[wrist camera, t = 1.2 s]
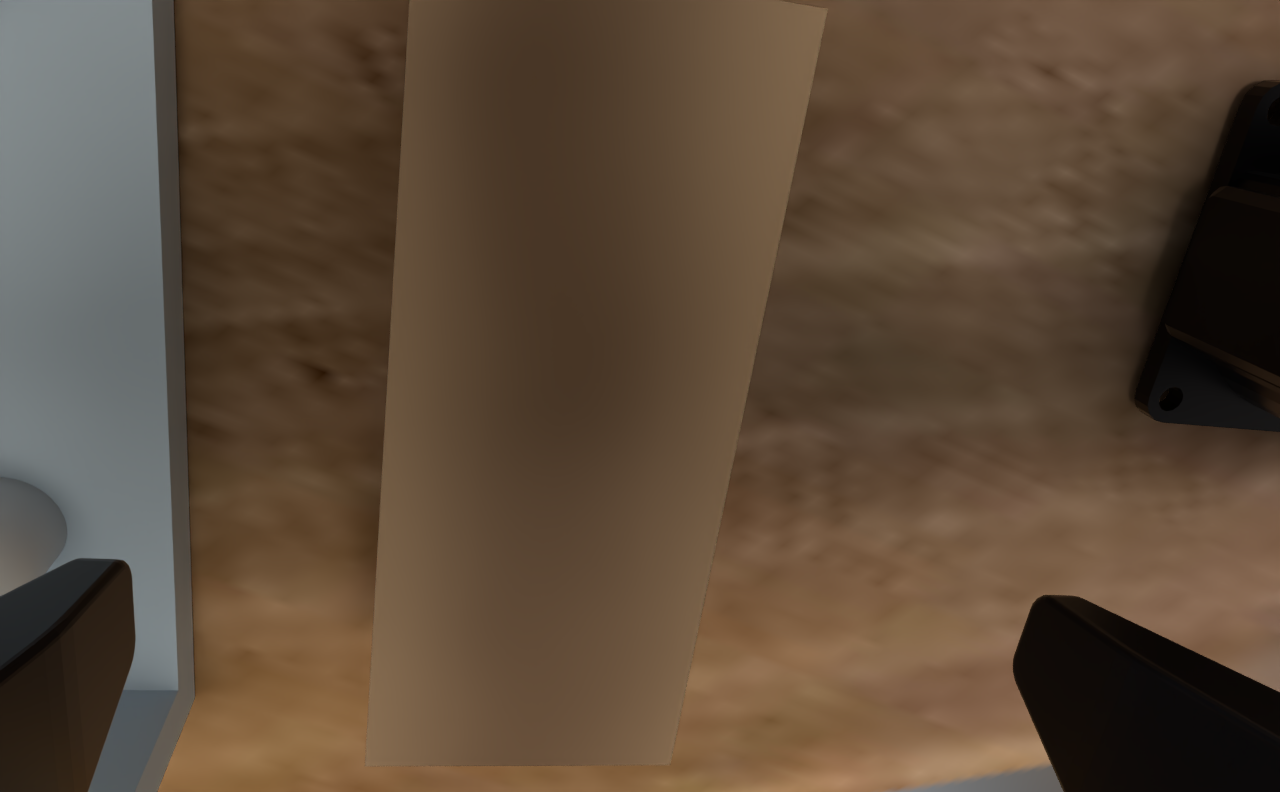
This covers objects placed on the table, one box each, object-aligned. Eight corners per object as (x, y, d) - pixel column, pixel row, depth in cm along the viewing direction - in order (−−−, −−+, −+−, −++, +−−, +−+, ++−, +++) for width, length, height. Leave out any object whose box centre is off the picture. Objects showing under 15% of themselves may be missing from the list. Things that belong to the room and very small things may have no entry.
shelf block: (742, 7, 15) (827, 8, 12) (633, 623, 19) (670, 765, 16) (427, -48, 14) (413, -65, 10) (386, 616, 18) (365, 765, 15)
